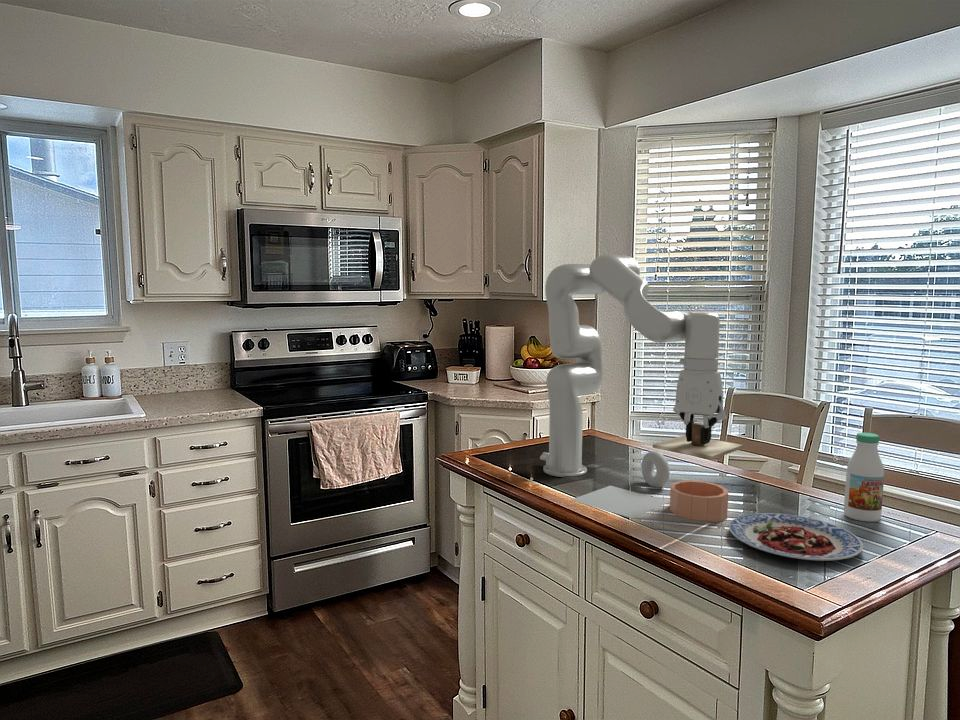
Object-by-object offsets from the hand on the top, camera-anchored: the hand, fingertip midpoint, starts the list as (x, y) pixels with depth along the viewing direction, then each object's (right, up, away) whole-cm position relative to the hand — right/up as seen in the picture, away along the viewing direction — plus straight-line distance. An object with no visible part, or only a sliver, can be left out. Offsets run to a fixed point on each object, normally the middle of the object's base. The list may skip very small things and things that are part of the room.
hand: (698, 441), depth 158 cm
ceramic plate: (+15, -20, -16) cm, 30 cm away
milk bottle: (+39, -18, 0) cm, 43 cm away
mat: (-17, -17, +9) cm, 25 cm away
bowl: (+1, -17, +2) cm, 18 cm away
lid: (0, -2, 0) cm, 2 cm away
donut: (-5, -15, +22) cm, 27 cm away
